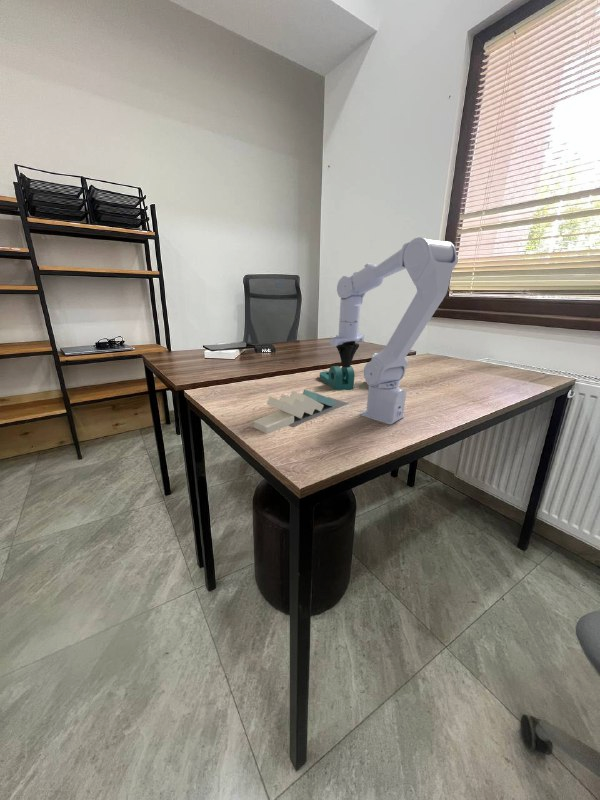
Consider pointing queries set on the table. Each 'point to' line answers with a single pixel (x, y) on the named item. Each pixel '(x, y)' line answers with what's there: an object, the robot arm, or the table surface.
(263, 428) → the tile
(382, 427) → the table surface
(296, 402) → the tile
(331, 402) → the tile
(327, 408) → the mat
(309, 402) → the tile
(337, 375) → the bracket
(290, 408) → the tile
